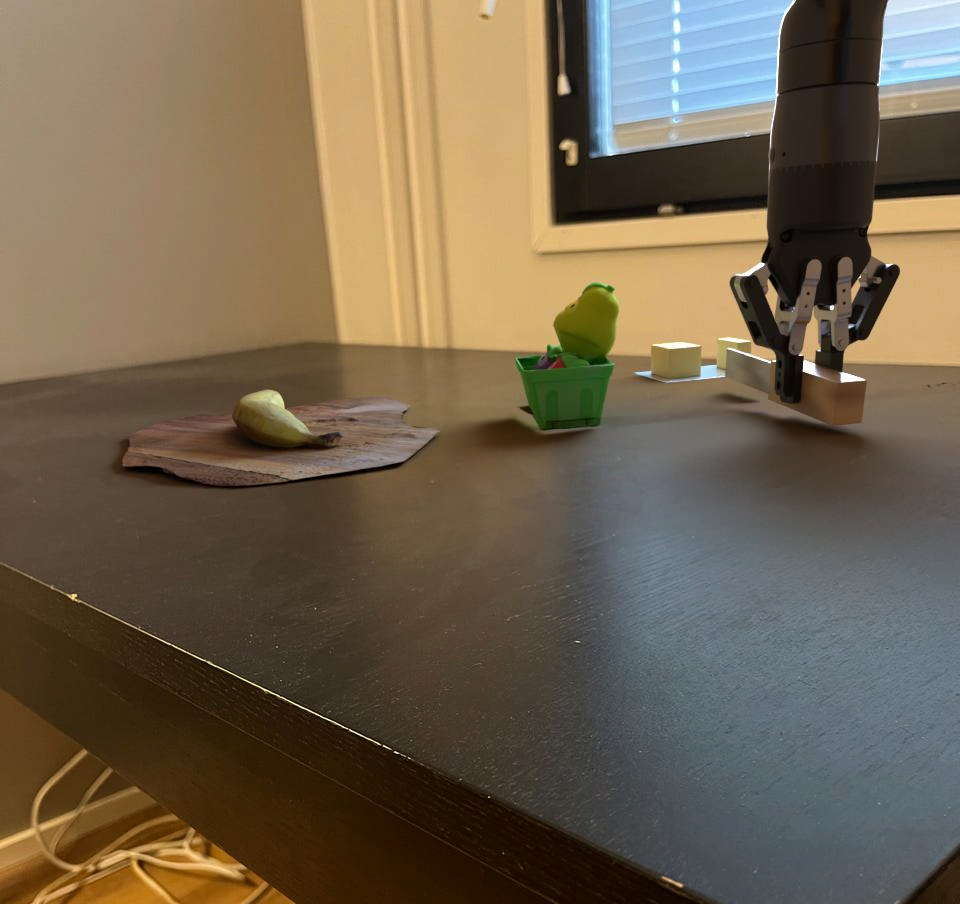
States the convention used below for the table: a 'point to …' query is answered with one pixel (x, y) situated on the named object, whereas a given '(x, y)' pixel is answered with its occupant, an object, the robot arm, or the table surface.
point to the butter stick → (676, 360)
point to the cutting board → (279, 440)
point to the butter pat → (730, 343)
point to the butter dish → (706, 373)
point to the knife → (804, 388)
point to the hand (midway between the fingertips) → (807, 399)
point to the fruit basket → (574, 362)
